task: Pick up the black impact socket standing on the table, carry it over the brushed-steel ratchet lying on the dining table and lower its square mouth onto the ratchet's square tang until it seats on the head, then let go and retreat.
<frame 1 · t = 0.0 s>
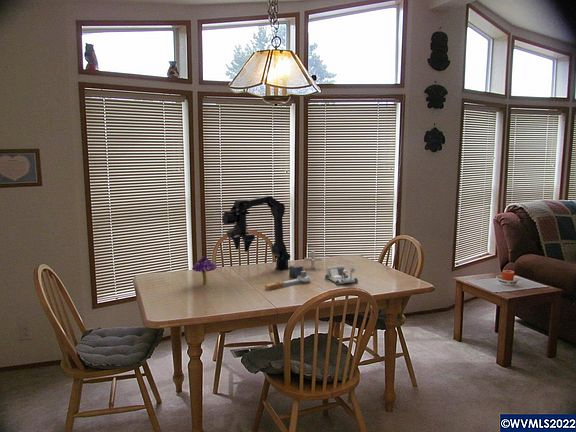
hand: (241, 250, 251), 15 cm above the table, fingers open, 9 cm apart
decorative mushroom: (204, 284, 238), on the table
toy car: (342, 282, 242), on the table
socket: (296, 276, 252), on the table
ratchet: (303, 281, 243), on the table
pipe connector: (312, 267, 273), on the table
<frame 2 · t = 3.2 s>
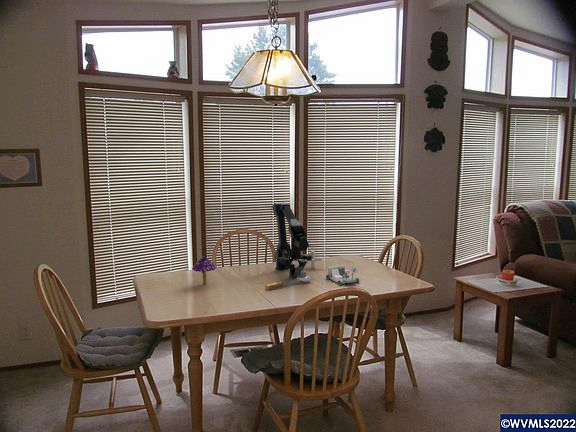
hand: (296, 274, 252), 1 cm above the table, fingers closed on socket, 5 cm apart
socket: (296, 276, 252), on the table, touching gripper
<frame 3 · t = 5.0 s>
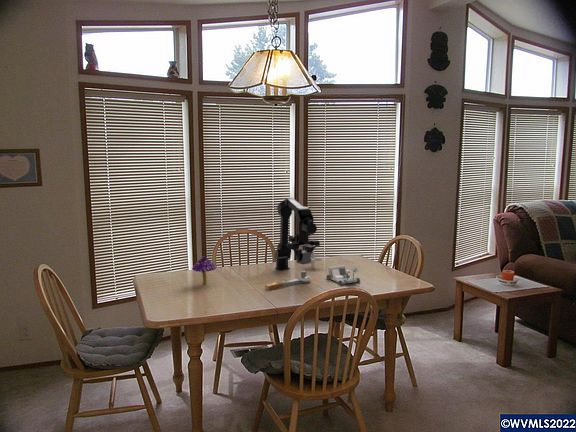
hand: (303, 260, 241), 11 cm above the table, fingers closed on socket, 5 cm apart
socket: (303, 262, 241), point 10 cm above the table, touching gripper
when the fingers open (4 cm above the table, at t = 7.2 s): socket stays where it is, resting on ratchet.
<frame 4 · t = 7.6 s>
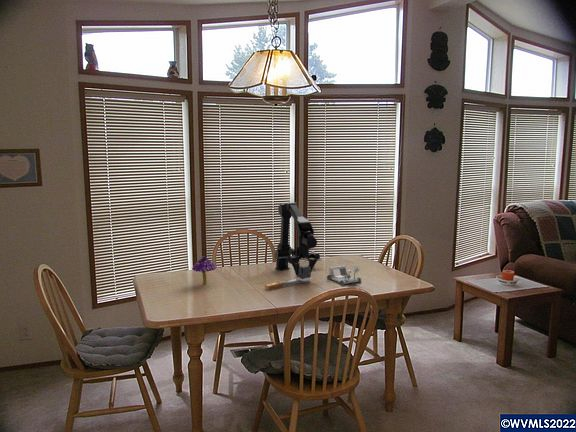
hand: (303, 273, 242), 4 cm above the table, fingers open, 9 cm apart
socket: (303, 276, 242), point 2 cm above the table, touching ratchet
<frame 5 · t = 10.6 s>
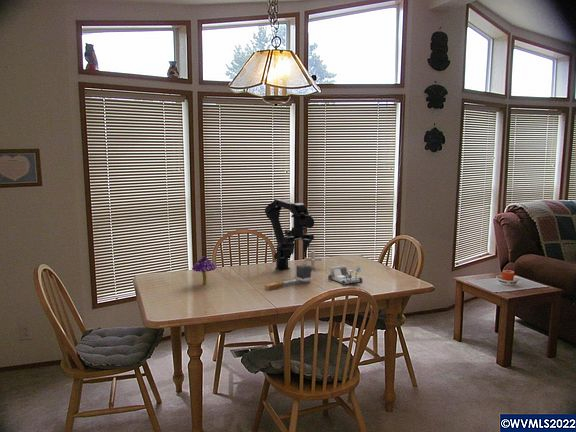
hand: (298, 253, 257), 12 cm above the table, fingers open, 9 cm apart
at the end: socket 0.0 cm off-centre on the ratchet, point 2.5 cm above the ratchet's base; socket tilted 0°; the gripper is holding nothing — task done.
